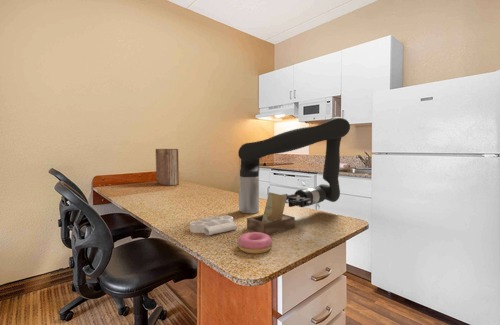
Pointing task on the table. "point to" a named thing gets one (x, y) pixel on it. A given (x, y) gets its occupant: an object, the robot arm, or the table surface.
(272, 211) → the skincare box
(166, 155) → the brown wooden block
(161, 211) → the table surface
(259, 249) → the doughnut
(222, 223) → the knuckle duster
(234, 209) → the table surface
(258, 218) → the walnut holder
